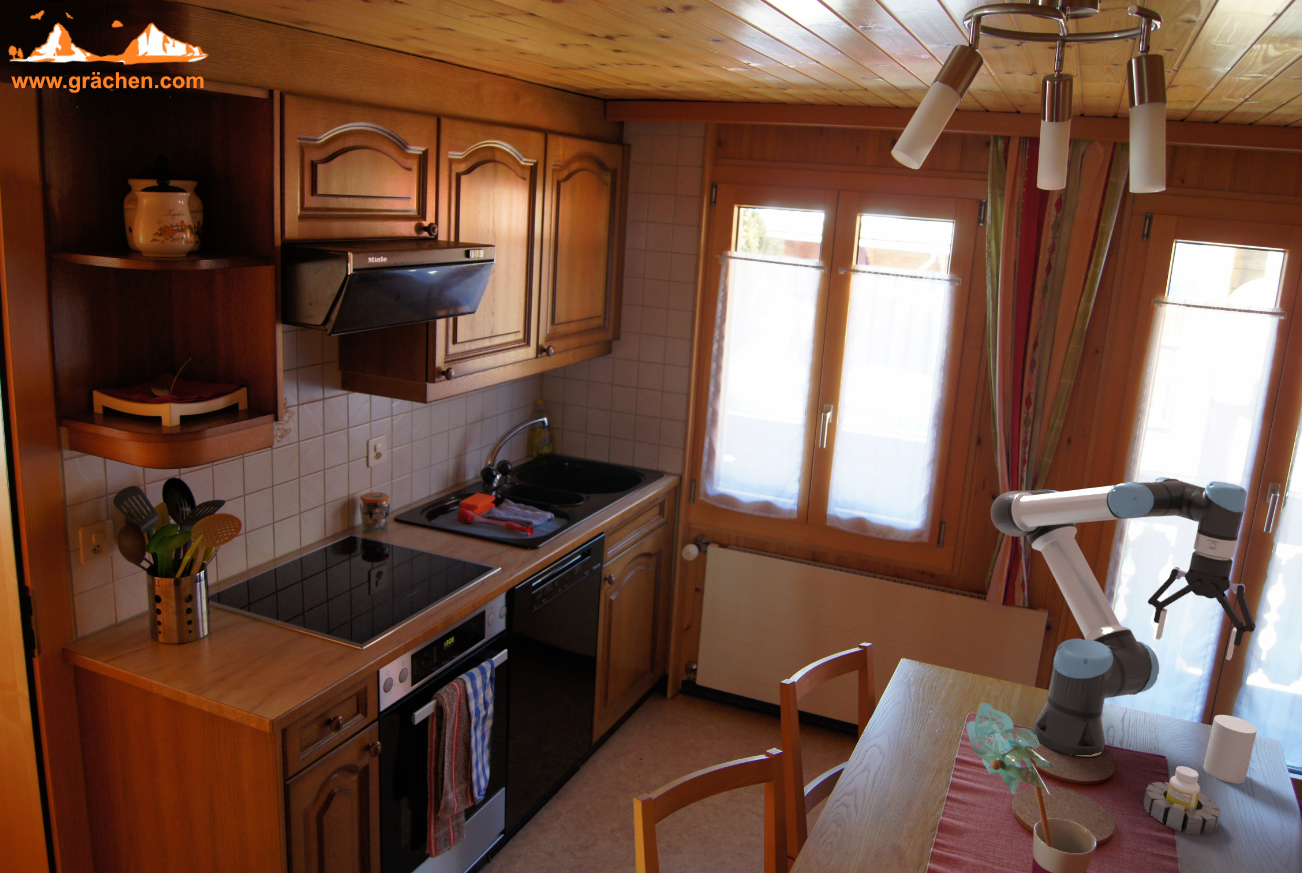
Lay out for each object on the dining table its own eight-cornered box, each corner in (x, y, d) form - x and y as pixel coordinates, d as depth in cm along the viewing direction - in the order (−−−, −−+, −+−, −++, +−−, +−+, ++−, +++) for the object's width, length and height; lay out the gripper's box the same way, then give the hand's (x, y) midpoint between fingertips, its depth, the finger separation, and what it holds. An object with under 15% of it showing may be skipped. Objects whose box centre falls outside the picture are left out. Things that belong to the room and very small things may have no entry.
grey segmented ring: (1137, 814, 189) (1141, 796, 188) (1151, 789, 199) (1155, 772, 198) (1210, 843, 181) (1214, 824, 180) (1221, 816, 191) (1225, 798, 190)
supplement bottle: (1180, 807, 193) (1189, 763, 191) (1199, 822, 188) (1209, 778, 186) (1157, 807, 192) (1166, 764, 190) (1176, 823, 187) (1186, 778, 185)
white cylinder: (1251, 786, 204) (1263, 736, 202) (1211, 779, 206) (1222, 729, 203) (1236, 767, 212) (1247, 718, 210) (1197, 760, 213) (1208, 712, 211)
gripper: (1145, 542, 204) (1127, 633, 208) (1279, 574, 189) (1257, 672, 193) (1152, 536, 210) (1134, 625, 214) (1284, 567, 194) (1262, 662, 198)
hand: (1192, 647), depth 203 cm, fingers open, 13 cm apart
